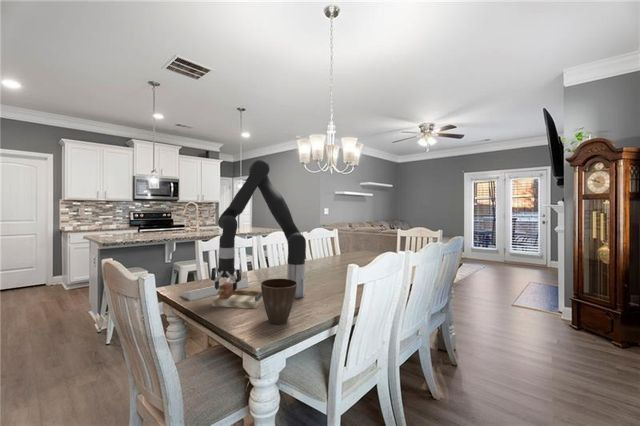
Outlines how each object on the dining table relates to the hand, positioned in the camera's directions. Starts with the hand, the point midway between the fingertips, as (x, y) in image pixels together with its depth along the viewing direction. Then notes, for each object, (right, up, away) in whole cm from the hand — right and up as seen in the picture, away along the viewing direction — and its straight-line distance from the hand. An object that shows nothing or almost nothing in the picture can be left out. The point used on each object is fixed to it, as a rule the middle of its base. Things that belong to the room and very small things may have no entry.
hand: (225, 289), depth 145 cm
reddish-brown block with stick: (0, -3, -3) cm, 4 cm away
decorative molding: (-11, -6, +18) cm, 22 cm away
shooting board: (+6, -7, -1) cm, 9 cm away
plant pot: (+28, -8, -21) cm, 36 cm away
